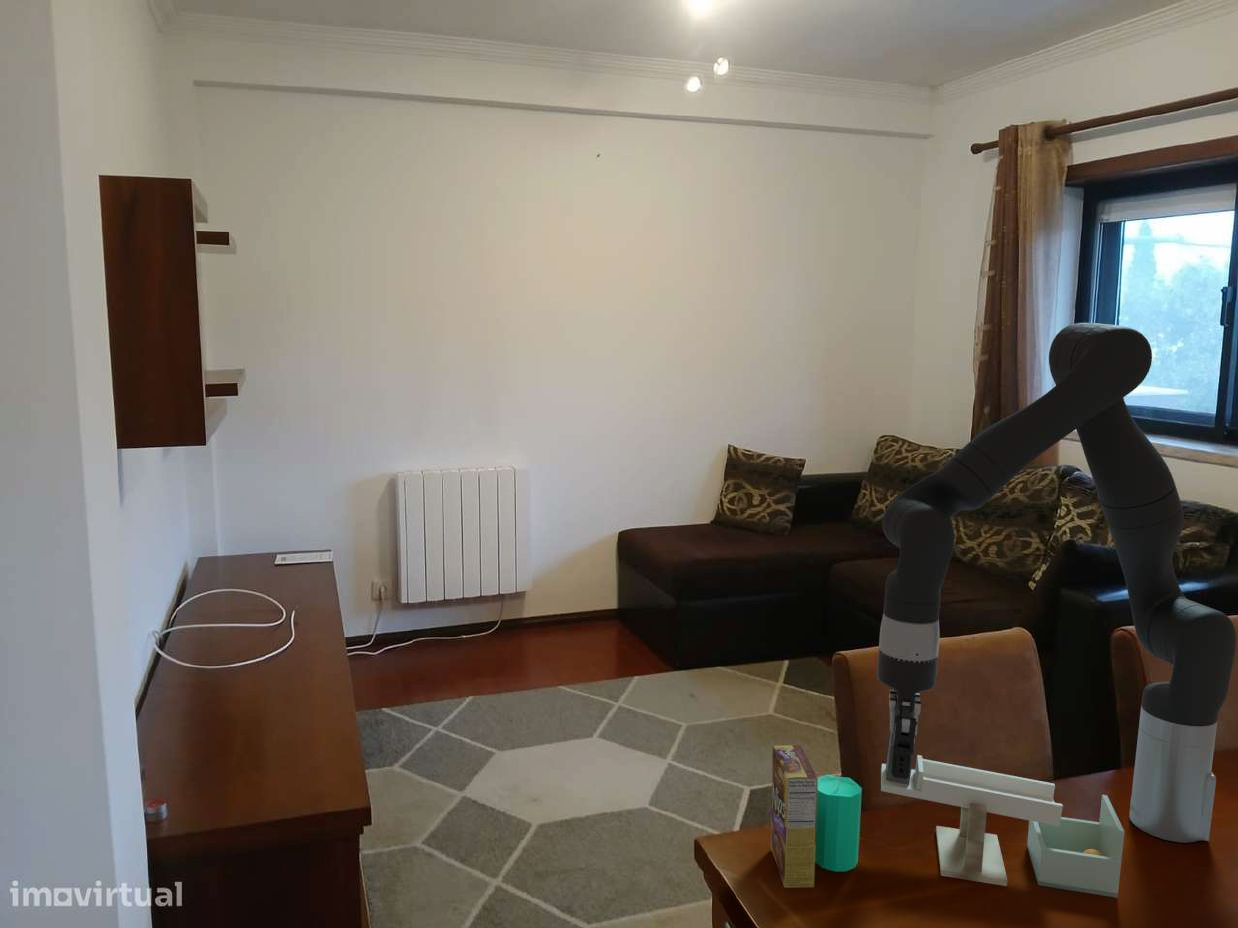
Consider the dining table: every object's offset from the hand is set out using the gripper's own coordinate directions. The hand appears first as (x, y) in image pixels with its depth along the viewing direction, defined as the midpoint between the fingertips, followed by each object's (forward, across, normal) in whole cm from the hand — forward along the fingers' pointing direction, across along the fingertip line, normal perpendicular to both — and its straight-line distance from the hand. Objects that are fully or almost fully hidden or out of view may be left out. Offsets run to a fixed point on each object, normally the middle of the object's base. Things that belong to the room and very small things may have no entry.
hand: (899, 768), depth 125 cm
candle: (+11, -6, +8) cm, 15 cm away
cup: (+11, 0, -22) cm, 25 cm away
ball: (+9, 0, -25) cm, 26 cm away
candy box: (+12, -10, +13) cm, 20 cm away
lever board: (+3, 0, -9) cm, 9 cm away
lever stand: (+11, 0, -10) cm, 15 cm away
